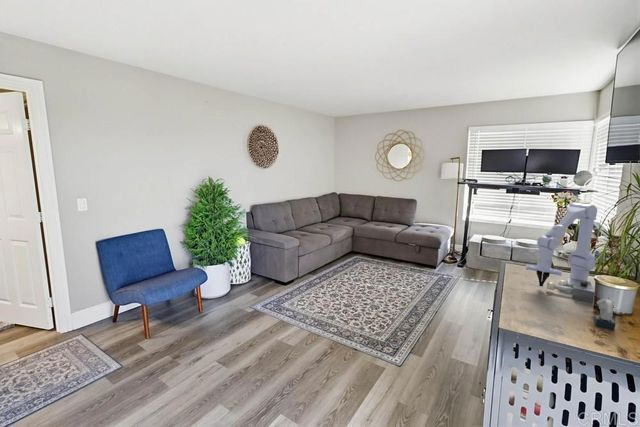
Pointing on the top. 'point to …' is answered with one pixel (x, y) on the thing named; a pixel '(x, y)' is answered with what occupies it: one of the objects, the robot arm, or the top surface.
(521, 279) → the top surface
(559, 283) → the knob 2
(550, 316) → the top surface
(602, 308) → the grey bust statue
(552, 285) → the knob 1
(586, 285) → the mount
